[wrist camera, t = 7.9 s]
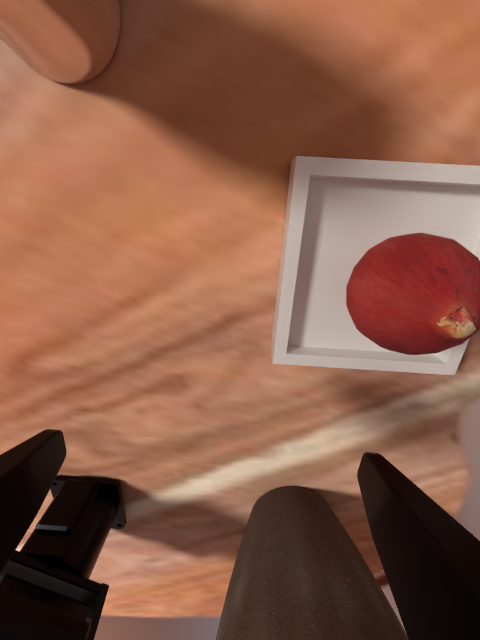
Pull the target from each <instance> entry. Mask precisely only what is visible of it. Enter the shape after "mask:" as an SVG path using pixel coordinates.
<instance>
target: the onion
mask: <svg viewBox="0 0 480 640" xmlns="http://www.w3.org/2000/svg"><path fill="white" fill-rule="evenodd" d="M346 306H347V309H348V312H349V314H350V316H351V318H352V320H353V323H354V325H355V327H356V329H357V330H358V331H359V332H360V333H361V334H363V335H364V336H365V337H367V338H368V339H370V340H371V341H372V342H374V343H375V344H377V345H378V346H380V347H382V348H384V349H387V350H390V351H394V352H399V353H403V354H407V355H422V354H434V353H438V352H441V351H444V350H447V349H450V348H452V347H455V346H458V345H461V344H463V343H464V342H465V341H466V340H468V339H469V338H470V337H471V336H472V335H473V334H474V333H476V332H477V331H478V330H479V328H480V260H479V259H478V257H476V256H475V255H474V254H473V253H471V252H470V251H469V250H467V249H466V248H465V247H464V246H462V245H461V244H460V243H458V242H457V241H455V240H454V239H450V238H445V237H441V236H436V235H431V234H426V233H413V234H406V235H401V236H395V237H390V238H388V239H386V240H384V241H382V242H381V243H379V244H377V245H375V246H374V247H372V248H370V249H369V250H368V251H367V252H366V253H365V254H364V256H363V257H362V258H361V259H360V260H359V262H358V263H357V264H356V265H355V266H354V268H353V271H352V273H351V276H350V279H349V281H348V284H347V286H346Z"/></svg>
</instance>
